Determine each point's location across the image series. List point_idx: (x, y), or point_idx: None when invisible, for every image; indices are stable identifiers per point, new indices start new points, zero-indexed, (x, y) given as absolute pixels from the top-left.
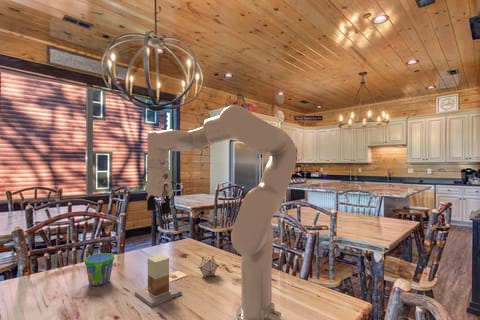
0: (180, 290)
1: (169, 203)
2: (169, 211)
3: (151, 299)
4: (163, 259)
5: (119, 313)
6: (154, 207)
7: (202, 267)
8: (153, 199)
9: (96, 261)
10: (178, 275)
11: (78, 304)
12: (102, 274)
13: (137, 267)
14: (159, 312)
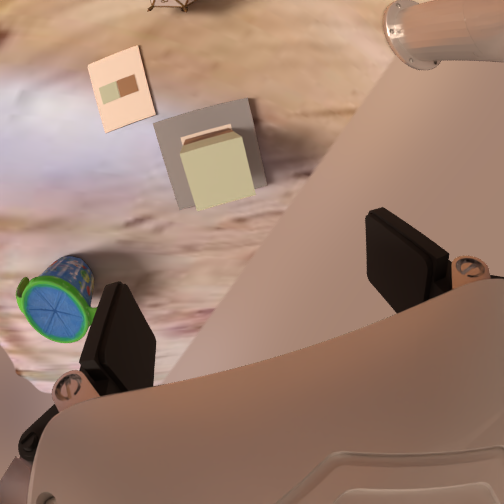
0: (242, 99)
1: (436, 250)
2: (386, 214)
3: None
4: (243, 160)
5: (250, 247)
6: (126, 306)
7: (188, 3)
8: (111, 383)
9: (73, 320)
10: (124, 71)
11: (167, 312)
12: (89, 287)
13: (12, 181)
14: (297, 174)
